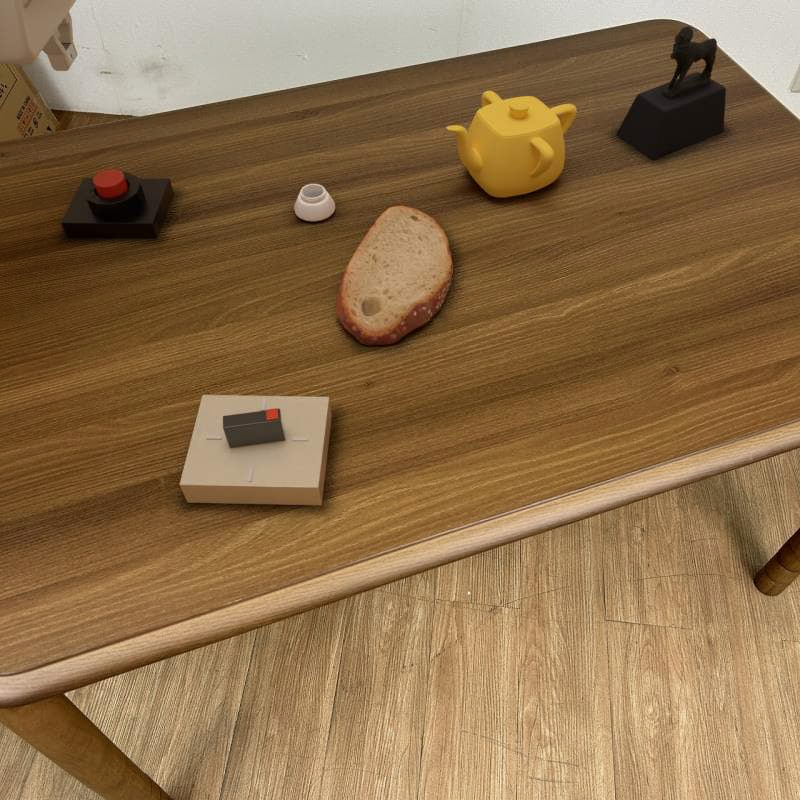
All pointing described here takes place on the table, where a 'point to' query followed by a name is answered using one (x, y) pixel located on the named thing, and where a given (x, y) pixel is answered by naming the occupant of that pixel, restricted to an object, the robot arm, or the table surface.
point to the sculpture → (678, 104)
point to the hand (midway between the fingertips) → (66, 64)
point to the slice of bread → (395, 277)
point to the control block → (119, 210)
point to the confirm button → (110, 183)
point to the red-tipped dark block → (254, 428)
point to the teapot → (514, 144)
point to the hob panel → (259, 454)
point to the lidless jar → (314, 203)
